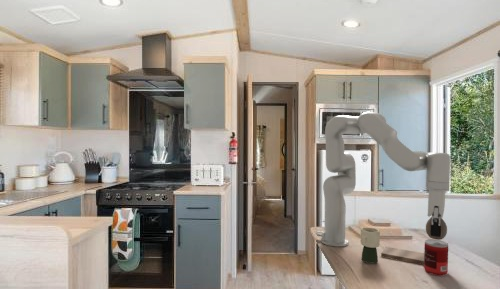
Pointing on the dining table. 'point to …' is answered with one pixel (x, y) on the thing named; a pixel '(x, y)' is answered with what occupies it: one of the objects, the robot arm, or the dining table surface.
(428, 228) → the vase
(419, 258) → the walnut board
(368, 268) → the dining table surface
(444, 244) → the canned food
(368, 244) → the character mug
